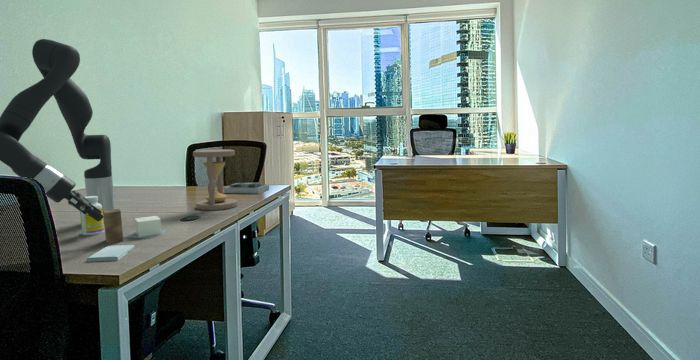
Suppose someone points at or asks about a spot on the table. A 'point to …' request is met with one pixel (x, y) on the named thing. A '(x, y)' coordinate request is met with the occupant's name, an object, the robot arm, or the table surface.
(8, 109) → the robot arm
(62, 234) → the table surface
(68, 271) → the table surface
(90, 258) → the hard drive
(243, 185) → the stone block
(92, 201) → the supplement bottle
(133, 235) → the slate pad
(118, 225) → the walnut pillar
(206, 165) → the hourglass
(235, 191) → the grey organizer frame
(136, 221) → the cream block
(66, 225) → the table surface
